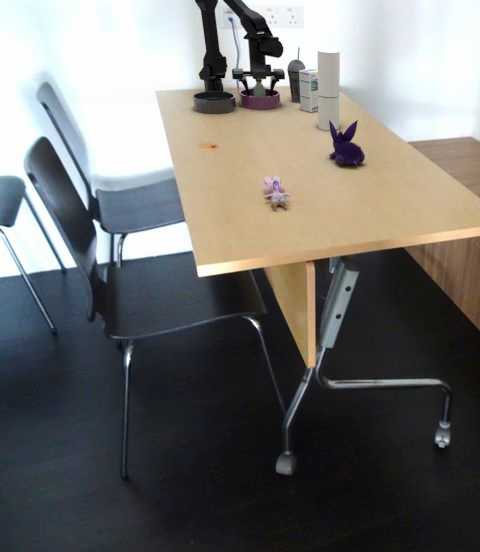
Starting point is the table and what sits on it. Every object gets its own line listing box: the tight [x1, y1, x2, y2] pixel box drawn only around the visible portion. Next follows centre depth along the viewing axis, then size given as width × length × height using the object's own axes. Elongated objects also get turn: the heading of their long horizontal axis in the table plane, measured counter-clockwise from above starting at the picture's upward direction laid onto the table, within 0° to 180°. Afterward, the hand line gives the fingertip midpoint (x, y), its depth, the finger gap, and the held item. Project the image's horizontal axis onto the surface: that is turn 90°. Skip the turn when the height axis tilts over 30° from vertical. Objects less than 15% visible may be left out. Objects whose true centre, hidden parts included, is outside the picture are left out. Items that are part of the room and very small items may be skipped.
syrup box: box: [299, 67, 318, 113], centre depth 211 cm, size 6×6×14 cm
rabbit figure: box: [263, 175, 291, 210], centre depth 140 cm, size 6×6×15 cm
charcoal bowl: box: [192, 90, 237, 115], centre depth 205 cm, size 15×15×5 cm
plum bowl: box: [238, 87, 281, 111], centre depth 213 cm, size 15×15×5 cm
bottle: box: [252, 79, 266, 97], centre depth 211 cm, size 4×4×10 cm
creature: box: [328, 119, 366, 166], centre depth 165 cm, size 9×18×12 cm, turn 27°
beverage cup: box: [286, 46, 307, 104], centre depth 219 cm, size 7×7×20 cm
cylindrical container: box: [317, 48, 341, 131], centre depth 190 cm, size 7×7×25 cm
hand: (260, 97), depth 212 cm, fingers open, 7 cm apart
